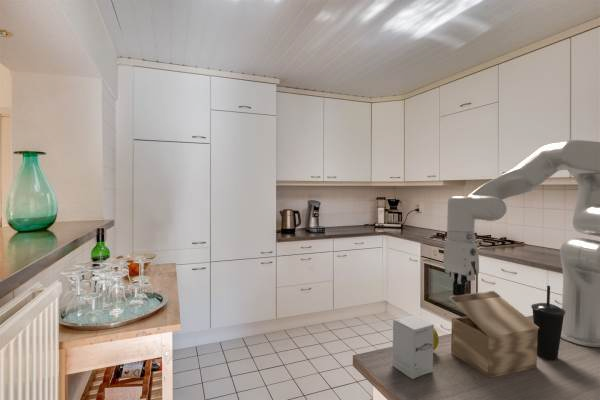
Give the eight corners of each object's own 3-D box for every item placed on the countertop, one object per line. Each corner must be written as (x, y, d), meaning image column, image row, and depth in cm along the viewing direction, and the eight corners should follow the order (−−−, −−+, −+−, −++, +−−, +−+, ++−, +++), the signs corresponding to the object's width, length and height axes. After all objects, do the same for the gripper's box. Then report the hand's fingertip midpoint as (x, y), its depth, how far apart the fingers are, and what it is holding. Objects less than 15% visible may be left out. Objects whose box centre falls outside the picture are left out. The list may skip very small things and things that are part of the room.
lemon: (440, 357, 90) (440, 329, 90) (419, 355, 91) (419, 327, 91) (436, 348, 96) (436, 321, 95) (416, 346, 97) (416, 320, 97)
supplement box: (412, 380, 80) (413, 329, 79) (391, 365, 86) (392, 318, 86) (433, 372, 83) (434, 324, 83) (411, 359, 90) (412, 314, 89)
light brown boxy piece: (493, 344, 98) (494, 311, 98) (536, 366, 86) (537, 329, 85) (451, 352, 93) (451, 318, 93) (490, 377, 81) (491, 338, 80)
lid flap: (492, 292, 99) (493, 290, 98) (538, 329, 86) (539, 327, 85) (448, 298, 93) (449, 296, 93) (490, 338, 80) (491, 336, 80)
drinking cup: (527, 356, 91) (529, 286, 91) (532, 346, 97) (534, 280, 96) (562, 366, 86) (565, 292, 85) (565, 355, 92) (567, 285, 91)
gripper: (490, 239, 94) (489, 302, 94) (451, 232, 108) (450, 287, 109) (470, 240, 91) (469, 305, 92) (433, 233, 106) (432, 289, 106)
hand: (458, 295), depth 100 cm, fingers closed
